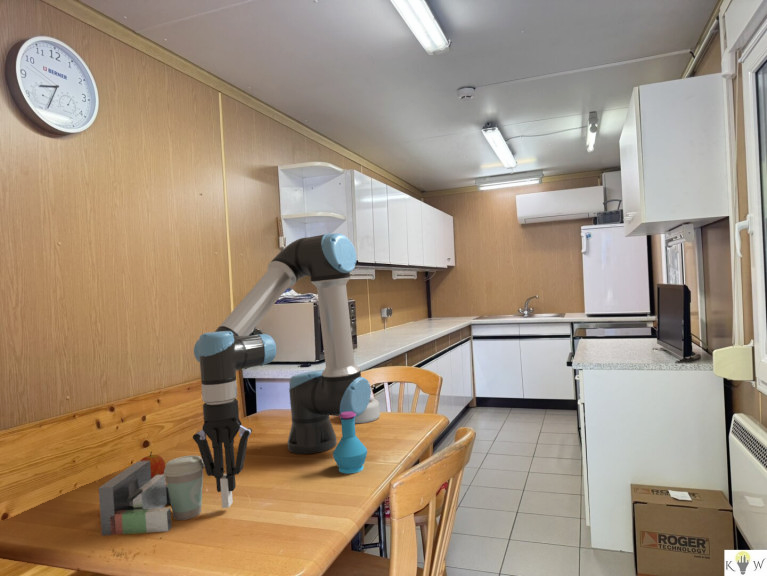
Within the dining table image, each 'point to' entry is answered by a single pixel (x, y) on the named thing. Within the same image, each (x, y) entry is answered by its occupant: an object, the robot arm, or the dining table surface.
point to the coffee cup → (185, 486)
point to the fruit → (155, 464)
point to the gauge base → (118, 508)
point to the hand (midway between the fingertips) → (227, 505)
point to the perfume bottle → (349, 447)
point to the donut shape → (369, 412)
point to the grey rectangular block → (150, 494)
